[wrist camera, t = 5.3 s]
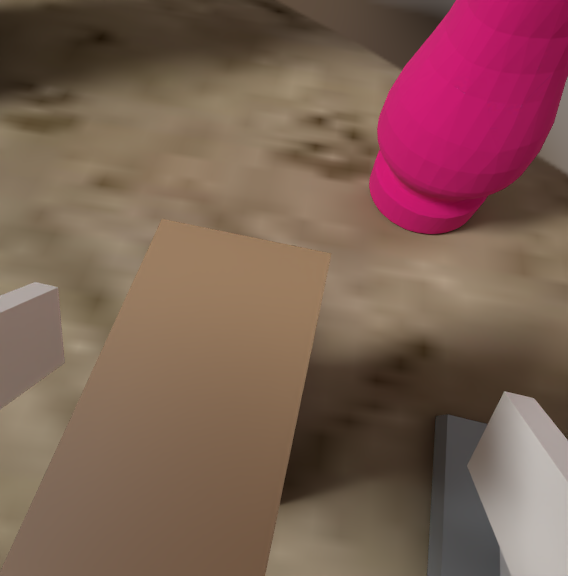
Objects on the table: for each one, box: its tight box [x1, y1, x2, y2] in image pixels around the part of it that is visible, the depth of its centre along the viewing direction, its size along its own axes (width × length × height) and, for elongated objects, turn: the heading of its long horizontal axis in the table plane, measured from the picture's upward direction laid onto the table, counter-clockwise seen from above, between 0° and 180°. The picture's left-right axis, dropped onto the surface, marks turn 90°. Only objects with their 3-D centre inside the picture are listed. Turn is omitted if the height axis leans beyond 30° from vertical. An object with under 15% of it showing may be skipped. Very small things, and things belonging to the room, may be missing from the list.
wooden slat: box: [0, 219, 331, 576], centre depth 9 cm, size 5×2×12 cm, turn 167°
